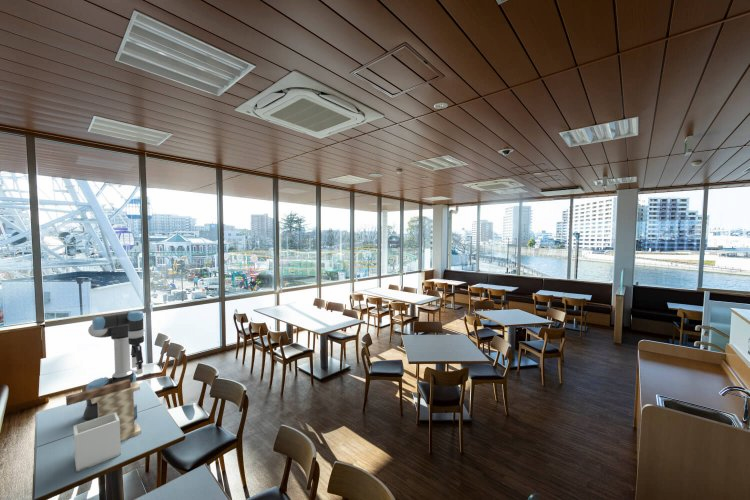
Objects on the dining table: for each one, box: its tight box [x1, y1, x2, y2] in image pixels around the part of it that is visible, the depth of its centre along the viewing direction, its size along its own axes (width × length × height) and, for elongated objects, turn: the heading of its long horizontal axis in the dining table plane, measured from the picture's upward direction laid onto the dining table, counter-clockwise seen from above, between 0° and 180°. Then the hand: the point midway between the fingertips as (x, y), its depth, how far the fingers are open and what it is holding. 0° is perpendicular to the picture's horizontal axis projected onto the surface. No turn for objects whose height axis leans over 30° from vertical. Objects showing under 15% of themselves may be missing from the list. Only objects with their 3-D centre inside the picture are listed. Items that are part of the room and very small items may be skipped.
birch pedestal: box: [91, 381, 142, 442], centre depth 186 cm, size 22×10×30 cm, turn 138°
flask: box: [134, 403, 138, 422], centre depth 205 cm, size 9×3×11 cm, turn 8°
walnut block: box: [65, 379, 131, 407], centre depth 181 cm, size 28×4×4 cm, turn 138°
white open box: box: [72, 412, 122, 473], centre depth 170 cm, size 18×12×20 cm, turn 138°
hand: (137, 370), depth 189 cm, fingers open, 13 cm apart
